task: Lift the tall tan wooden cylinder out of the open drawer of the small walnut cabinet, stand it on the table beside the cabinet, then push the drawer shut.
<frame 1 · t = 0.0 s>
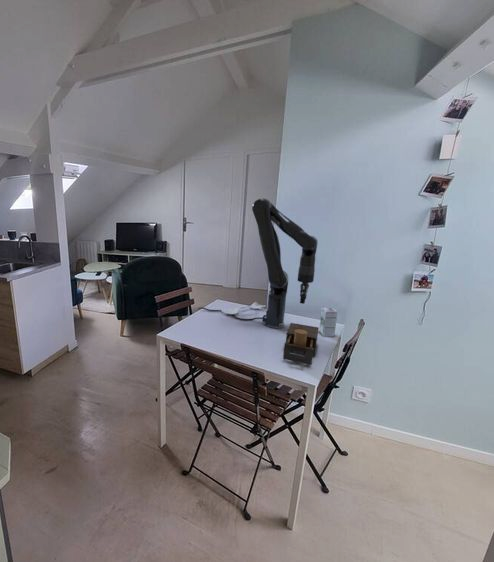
hand: (303, 301, 174), 17 cm above the table, tool pointing down, fingers open, 8 cm apart
tan wooden cylinder: (298, 354, 147), point 2 cm above the table, touching drawer
spoon: (242, 311, 210), on the table
drawer: (298, 350, 146), point 5 cm above the table, slide at 10.0 cm, touching tan wooden cylinder
syrup box: (326, 334, 172), on the table
cabinet: (300, 347, 158), on the table
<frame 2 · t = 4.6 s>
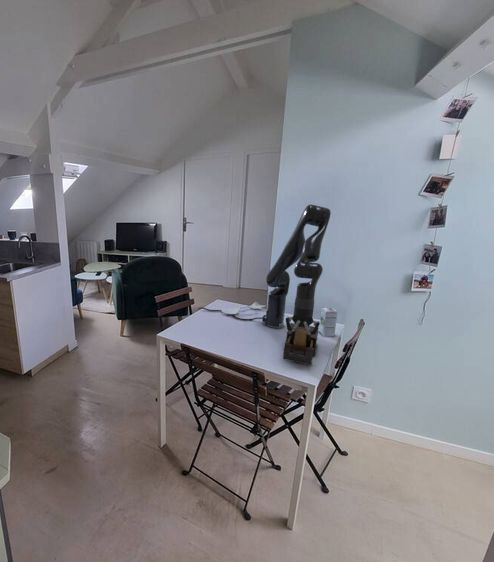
hand: (300, 340, 145), 10 cm above the table, tool pointing down, fingers closed on tan wooden cylinder, 5 cm apart
tan wooden cylinder: (298, 354, 147), point 2 cm above the table, touching drawer, gripper
everything else where it was.
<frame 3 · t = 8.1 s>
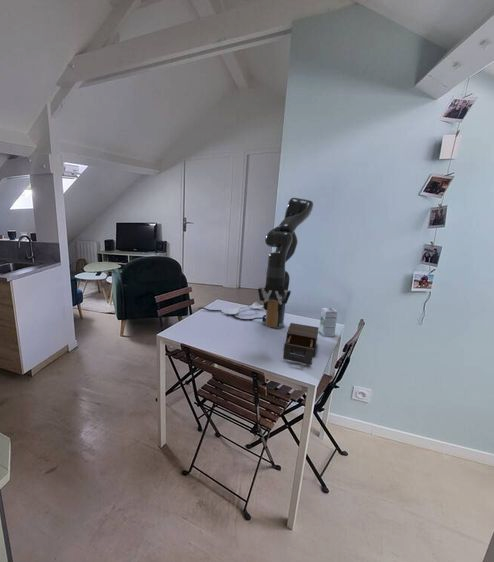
hand: (272, 310, 147), 23 cm above the table, tool pointing down, fingers closed on tan wooden cylinder, 5 cm apart
tan wooden cylinder: (271, 325, 149), point 16 cm above the table, touching gripper
drawer: (298, 350, 146), point 5 cm above the table, slide at 10.0 cm
everything else where it was.
when the fingers open (8 cm above the table, at t = 12.0 s): tan wooden cylinder stays where it is, on the table.
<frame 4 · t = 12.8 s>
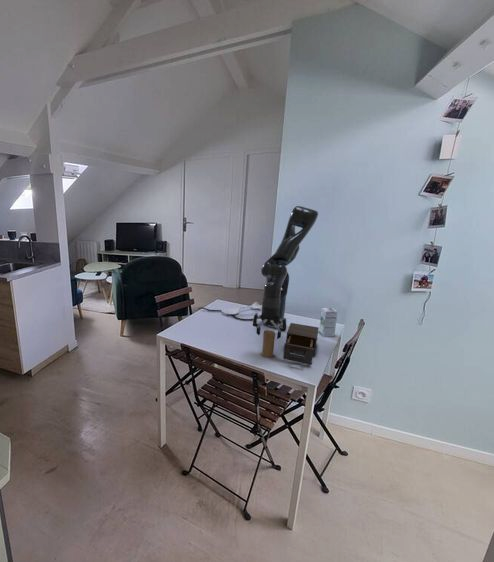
hand: (268, 336, 151), 10 cm above the table, tool pointing down, fingers open, 8 cm apart
tan wooden cylinder: (267, 354, 153), on the table
everything else where it was.
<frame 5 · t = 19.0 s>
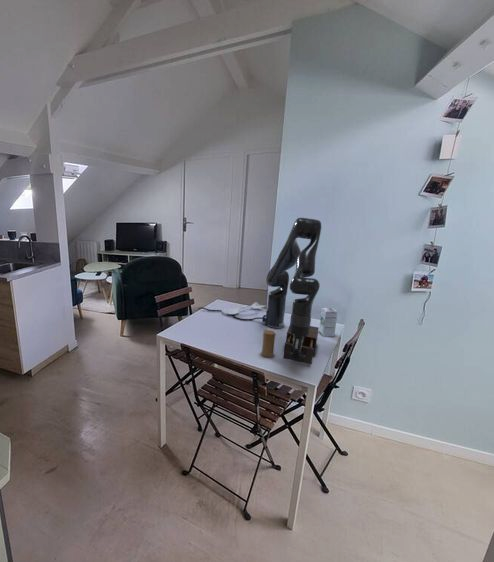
hand: (295, 359, 138), 5 cm above the table, tool pointing down, fingers closed
drawer: (299, 349, 146), point 5 cm above the table, slide at 9.5 cm, touching gripper
everything else where it was.
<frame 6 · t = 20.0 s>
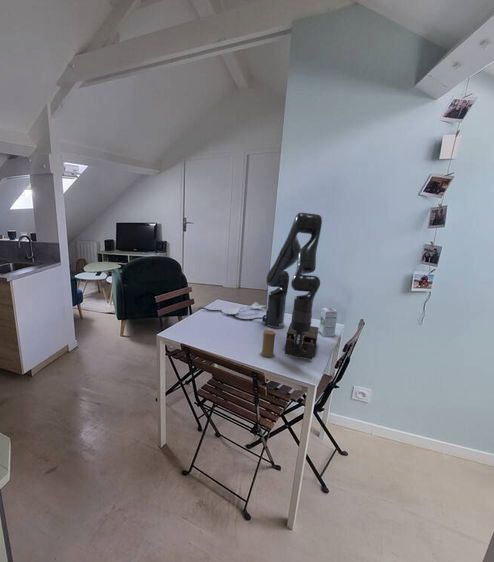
hand: (297, 354, 142), 5 cm above the table, tool pointing down, fingers closed
drawer: (300, 345, 150), point 5 cm above the table, slide at 4.6 cm, touching gripper
everything else where it was.
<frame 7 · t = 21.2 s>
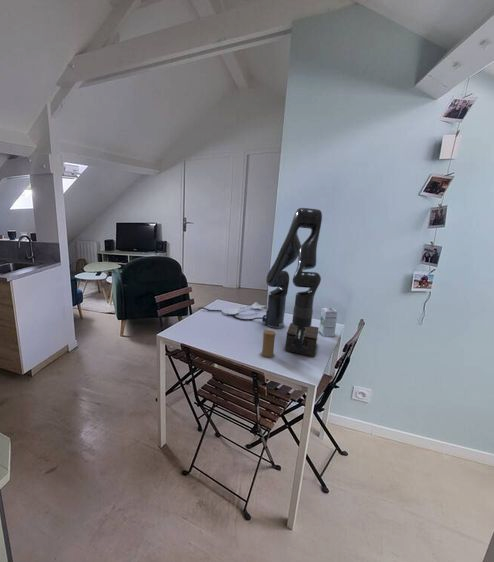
hand: (298, 349, 146), 5 cm above the table, tool pointing down, fingers closed
drawer: (301, 341, 154), point 5 cm above the table, slide at 0.0 cm, touching cabinet, gripper
everything else where it was.
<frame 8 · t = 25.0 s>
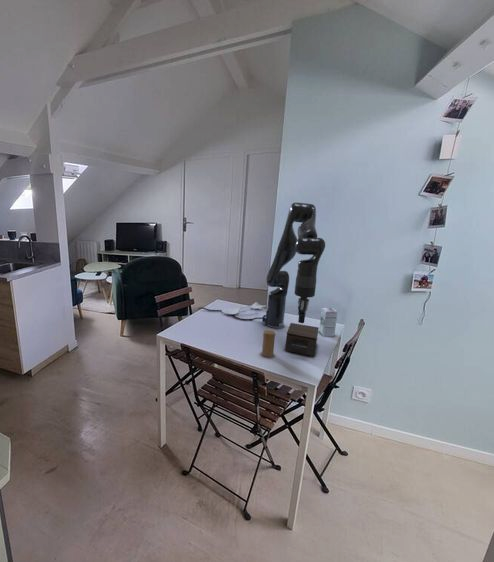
hand: (301, 322, 137), 21 cm above the table, tool pointing down, fingers closed
drawer: (301, 341, 154), point 5 cm above the table, slide at 0.0 cm
everything else where it was.
at the end: tan wooden cylinder inside the target area (0.2 cm from its centre), on the table; tan wooden cylinder tilted 0°; drawer slide at 0.0 cm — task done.
